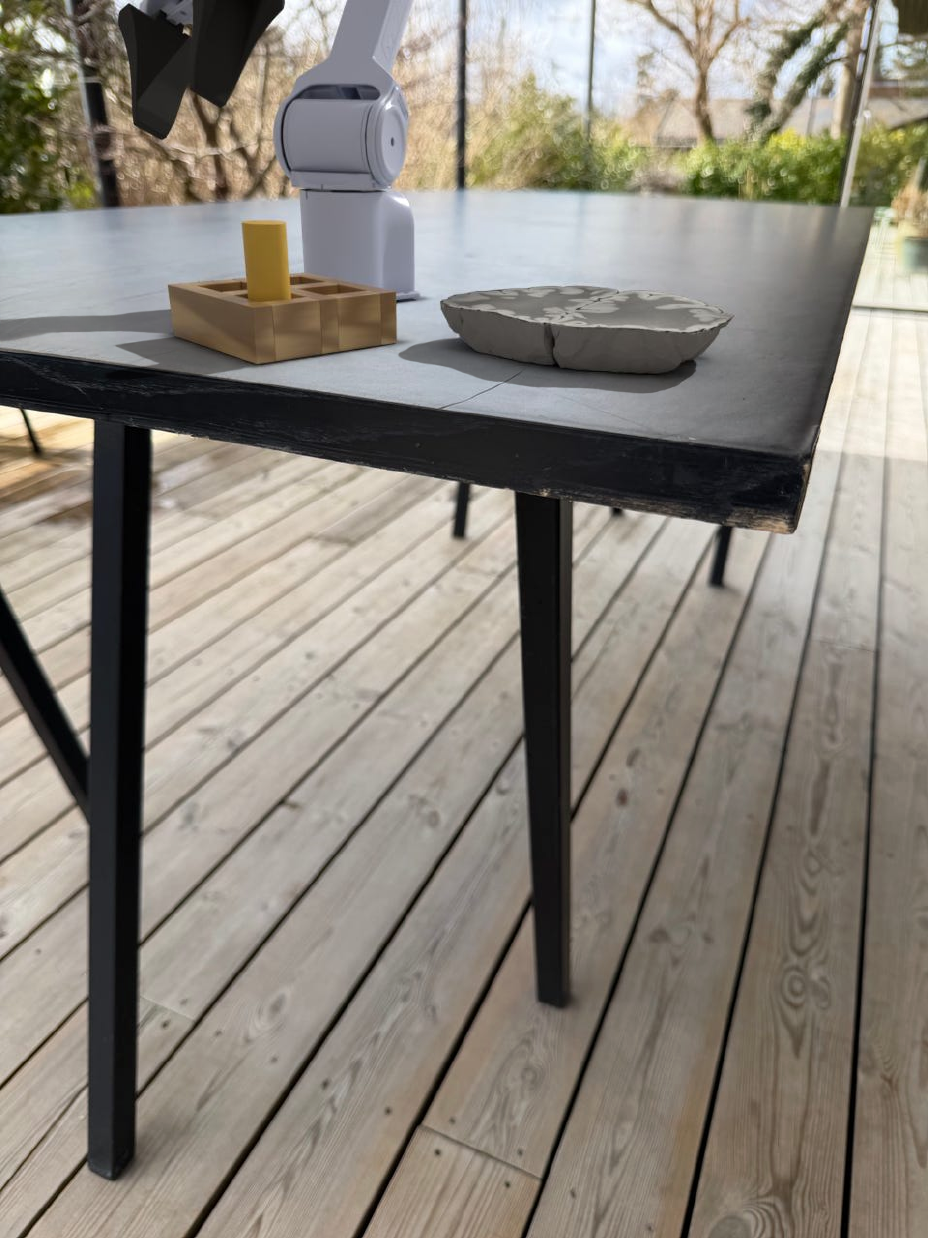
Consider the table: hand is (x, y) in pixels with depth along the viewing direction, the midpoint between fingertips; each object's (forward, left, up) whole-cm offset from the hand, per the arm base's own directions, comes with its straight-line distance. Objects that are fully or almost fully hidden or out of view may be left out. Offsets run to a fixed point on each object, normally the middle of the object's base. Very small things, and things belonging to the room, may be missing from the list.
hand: (177, 115), depth 56 cm
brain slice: (-21, +17, -14) cm, 30 cm away
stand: (-6, +2, -14) cm, 15 cm away
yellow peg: (-3, +4, -14) cm, 15 cm away
